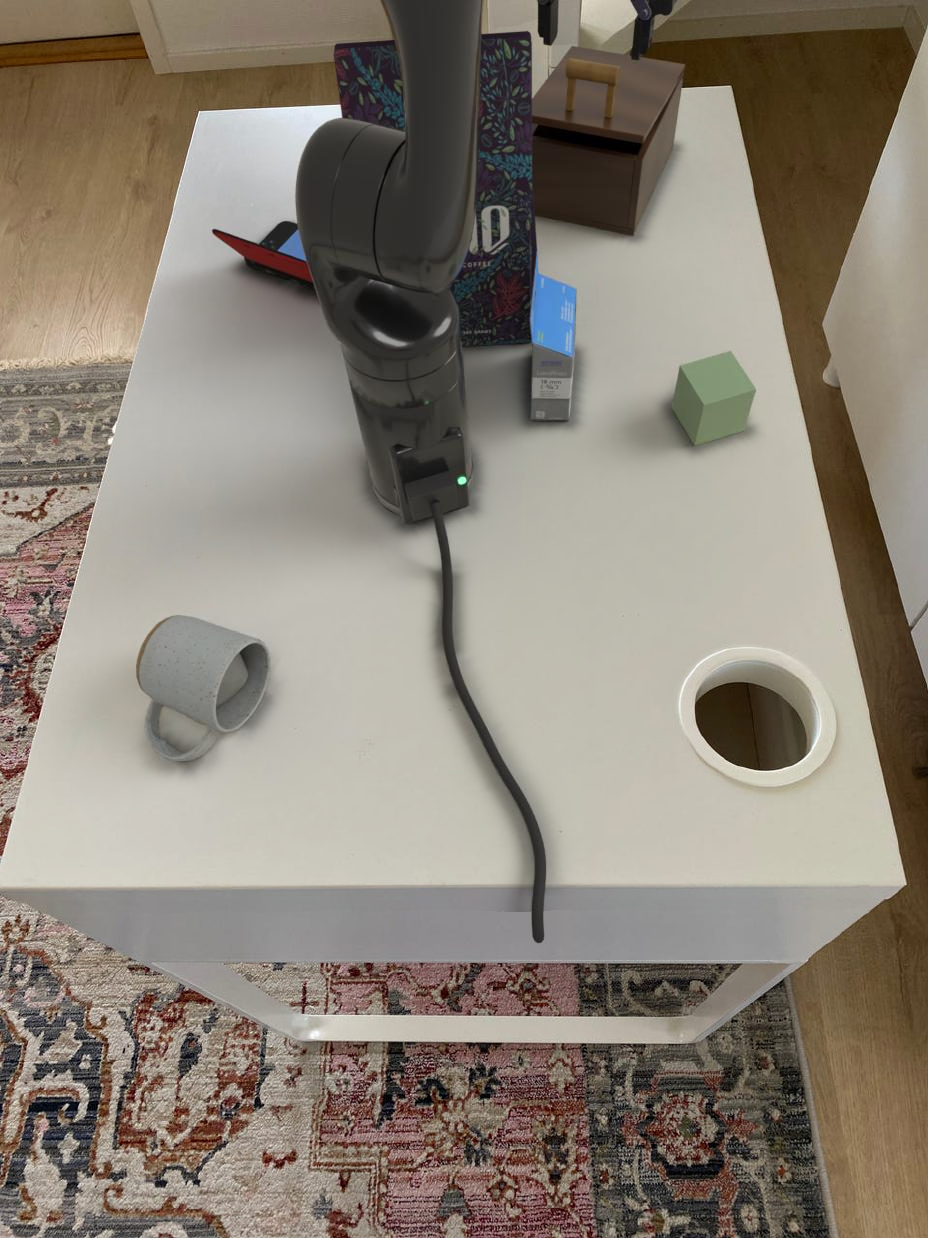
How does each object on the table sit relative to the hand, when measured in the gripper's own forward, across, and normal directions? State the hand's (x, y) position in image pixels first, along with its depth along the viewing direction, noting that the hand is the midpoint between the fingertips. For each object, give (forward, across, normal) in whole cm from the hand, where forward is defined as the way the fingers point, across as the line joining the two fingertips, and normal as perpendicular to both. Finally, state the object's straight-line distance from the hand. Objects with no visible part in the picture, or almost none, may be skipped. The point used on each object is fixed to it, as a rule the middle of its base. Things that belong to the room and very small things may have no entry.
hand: (593, 48), depth 88 cm
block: (+18, +20, -24) cm, 36 cm away
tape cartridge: (+18, +5, -25) cm, 31 cm away
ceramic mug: (+18, -10, -67) cm, 70 cm away
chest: (+18, 0, +6) cm, 18 cm away
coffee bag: (+18, -7, -20) cm, 28 cm away
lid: (+8, 0, +5) cm, 9 cm away
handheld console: (+18, -26, -18) cm, 36 cm away
